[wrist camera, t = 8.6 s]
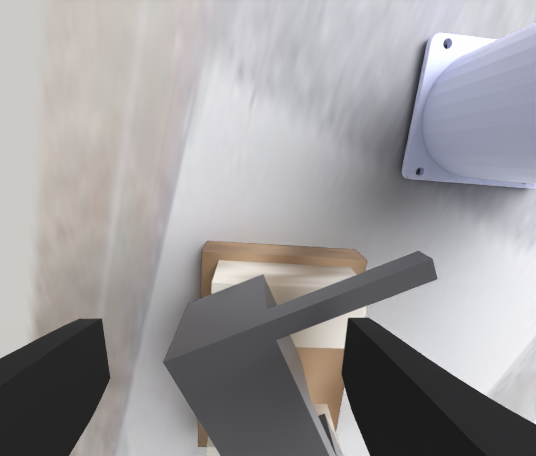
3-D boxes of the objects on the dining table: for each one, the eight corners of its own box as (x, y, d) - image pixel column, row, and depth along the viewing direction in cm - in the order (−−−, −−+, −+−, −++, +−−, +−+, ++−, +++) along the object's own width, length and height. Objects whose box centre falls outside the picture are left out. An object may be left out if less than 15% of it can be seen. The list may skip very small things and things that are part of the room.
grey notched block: (379, 228, 13) (432, 258, 9) (443, 444, 17) (499, 528, 13) (188, 303, 14) (163, 362, 10) (293, 496, 17) (304, 593, 14)
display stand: (355, 249, 19) (418, 307, 12) (325, 422, 23) (360, 546, 15) (207, 240, 18) (177, 297, 11) (202, 420, 22) (178, 550, 15)
